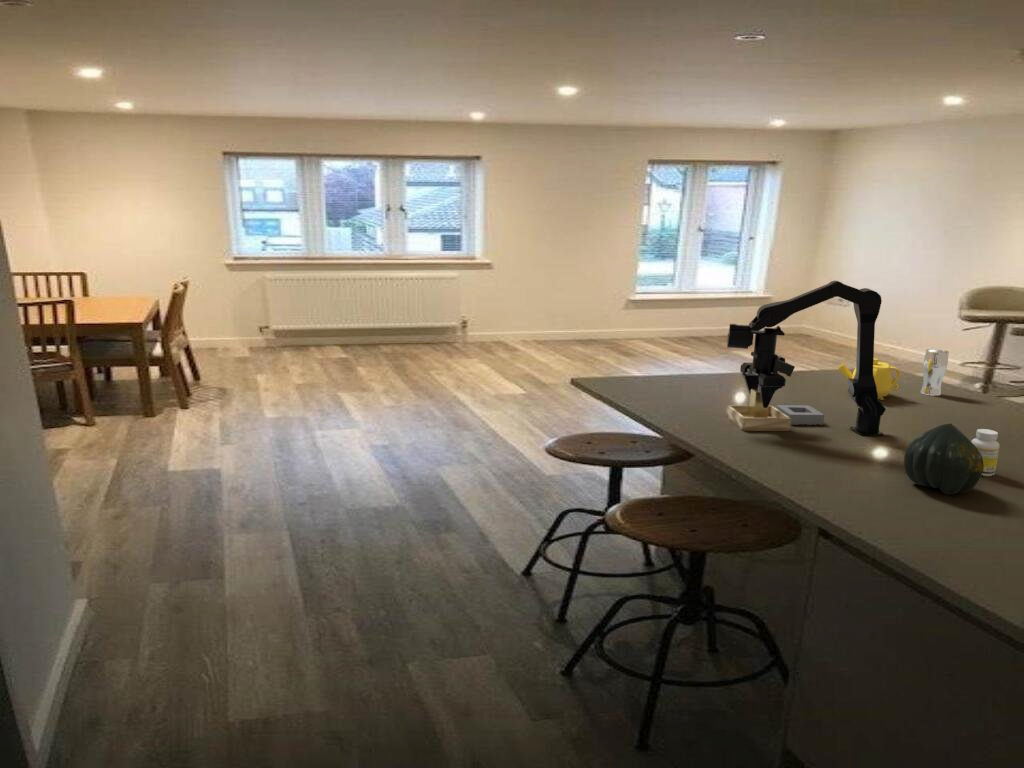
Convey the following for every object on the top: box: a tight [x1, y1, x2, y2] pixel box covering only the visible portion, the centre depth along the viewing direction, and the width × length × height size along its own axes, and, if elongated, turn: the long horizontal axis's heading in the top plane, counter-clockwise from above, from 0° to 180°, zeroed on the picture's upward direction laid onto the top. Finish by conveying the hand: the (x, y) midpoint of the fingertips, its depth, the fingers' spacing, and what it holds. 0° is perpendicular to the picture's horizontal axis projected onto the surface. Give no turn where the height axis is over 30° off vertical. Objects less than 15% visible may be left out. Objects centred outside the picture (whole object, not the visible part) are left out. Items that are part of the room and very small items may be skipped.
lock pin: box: [748, 388, 770, 418], centre depth 203 cm, size 4×4×9 cm
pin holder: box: [775, 404, 825, 426], centre depth 208 cm, size 10×10×3 cm
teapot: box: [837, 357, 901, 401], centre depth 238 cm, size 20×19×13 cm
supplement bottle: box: [970, 428, 1001, 477], centre depth 167 cm, size 6×6×10 cm
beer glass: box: [920, 348, 949, 397], centre depth 240 cm, size 7×7×15 cm
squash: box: [903, 423, 984, 495], centre depth 157 cm, size 14×15×15 cm
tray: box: [725, 404, 792, 432], centre depth 204 cm, size 14×14×4 cm
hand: (759, 403), depth 203 cm, fingers open, 9 cm apart
